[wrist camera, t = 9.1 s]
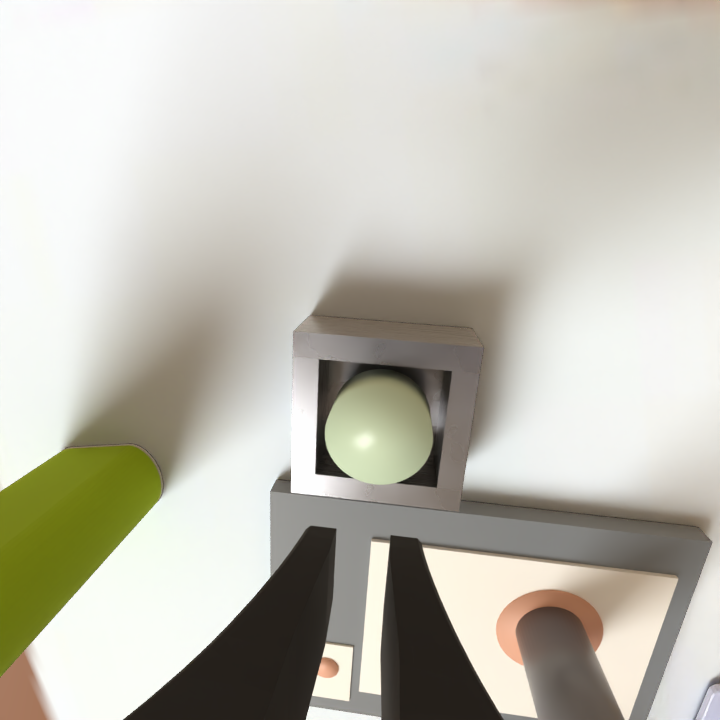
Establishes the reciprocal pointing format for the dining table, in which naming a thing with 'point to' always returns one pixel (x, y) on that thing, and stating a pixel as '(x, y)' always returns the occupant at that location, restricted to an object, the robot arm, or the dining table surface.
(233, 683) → the robot arm
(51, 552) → the vape
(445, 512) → the drawing board
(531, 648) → the marker
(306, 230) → the dining table surface
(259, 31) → the dining table surface
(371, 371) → the button
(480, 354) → the button housing
